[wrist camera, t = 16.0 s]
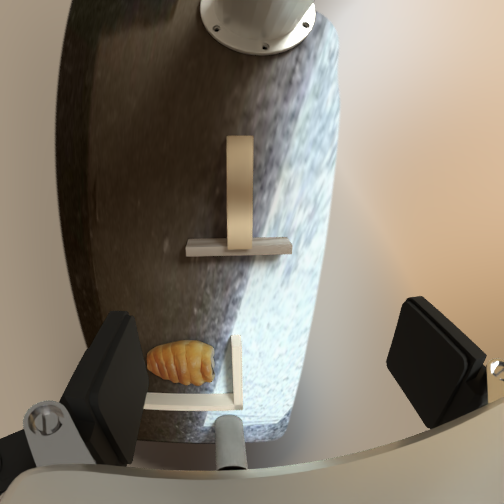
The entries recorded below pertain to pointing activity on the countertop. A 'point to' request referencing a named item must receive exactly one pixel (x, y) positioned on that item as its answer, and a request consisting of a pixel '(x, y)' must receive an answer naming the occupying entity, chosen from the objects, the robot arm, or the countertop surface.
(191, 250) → the dough scraper
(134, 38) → the countertop surface
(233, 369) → the frame
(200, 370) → the pastry
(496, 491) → the robot arm
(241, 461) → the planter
